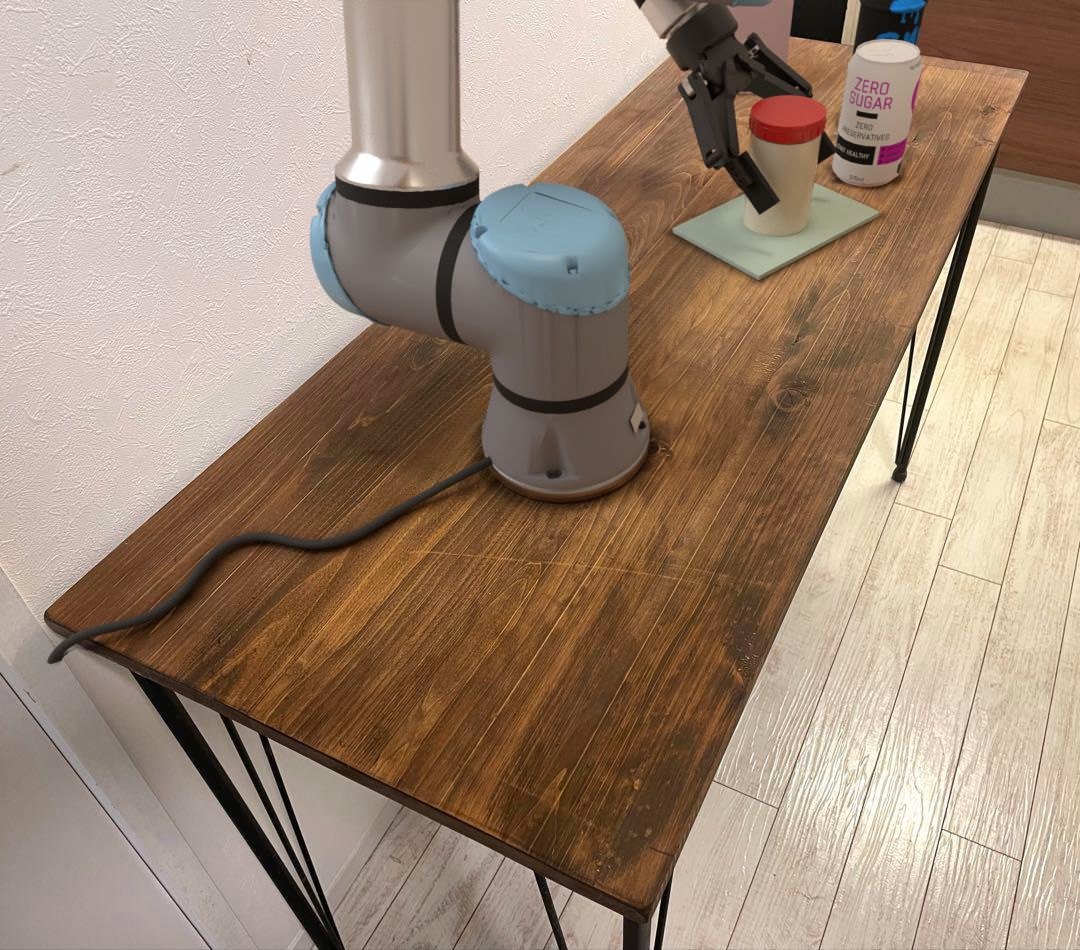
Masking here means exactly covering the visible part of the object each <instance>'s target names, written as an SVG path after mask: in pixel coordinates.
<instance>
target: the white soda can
mask: <svg viewBox="0 0 1080 950" xmlns="http://www.w3.org/2000/svg"><path fill="white" fill-rule="evenodd" d="M848 61H849V62H848V63H847V69H846V74H845V75H846V76H845V81H844V89H843V93H842V99H841V100H842V101H841V107H840V113H839V119H838V126H837V130H836V131H837V132H836V137H835V143H834V146H835V147H836V149H837V150H838V151H837V152H836V153H835V154H833V155H832V156H833V158H832V162H831V168H832V172H833V173H834V174H836V177H837V178H838V179H840V180H841V181H842V182H844V183H846V184H848V185H852V186H857V187H864V188H865V187H866V188H871V187H879V186H883V185H885V184H888V183H890V182H891V181H892V180H894V179H895V178H896V177H898V176H899V175H900V172H901V170H902V165H903V161H904V157H905V152H906V147H907V142H908V137H909V134H910V129H911V125H912V124H911V123H912V120H913V115H914V111H915V105H916V101H917V97H918V92H919V87H920V83H921V77H922V73H923V68H924V64H923V61H922V57H921V49H920V48H919V47H918V45H917V46H915V45H914V44H911V43H908V42H905V41H900V40H891V39H881V40H872V41H869V42H865V43H863V44H861V45H859V46H858V48H857V49H856V52H855V54H854V55H853V57H852V56H851V58H850V59H849V60H848Z"/></svg>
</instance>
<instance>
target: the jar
mask: <svg viewBox="0 0 1080 950" xmlns="http://www.w3.org/2000/svg"><path fill="white" fill-rule="evenodd" d="M821 135H822V134H821ZM821 135H820V136H819V137H817V138H815V139H812V140H810V141H806V142H802V143H795V144H780V143H773V142H769V141H765V140H762V139H760V138H758V137H756V136H755V135H753V134H752V133H751V132H750V135H749V145H748V146H749V147H748V154H749V155H750V157H751V158H752V160H753V161H754V163H755V164H756V165H757V167H758V168H759V170H760V171H761V173H762V174H763V176H764V177H765V179H766V180H767V182H768V183H769V185H770V186H771V188H772V189H773V191H774V192H775V194H776V195H777V197H778V198H779V200H780V202H778V203H777V204H776V205H774V206H773V207H771V208H770V209H768V210H767V211H765V212H764V213H762V214H760V215H759V214H758V212H757V211H756V210H755V208H754V207H753V205H752V204H751V202H750V201H749V199H748V198H747V196H746V195H745V200H744V211H743V222H744V224H745V226H746V227H747V228H749V229H750V230H752V231H754V232H756V233H759V234H762V235H767V236H788V235H792V234H796V233H798V232H800V231H802V230H803V229H805V228H806V226H807V225H808V223H809V217H810V210H811V203H812V196H813V190H814V183H816V182H815V181H816V176H817V175H816V174H817V169H818V165H817V162H818V156H819V149H820V142H821Z"/></svg>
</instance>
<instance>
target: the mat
mask: <svg viewBox="0 0 1080 950" xmlns="http://www.w3.org/2000/svg"><path fill="white" fill-rule="evenodd" d="M744 200H745V193H743V194H741V195H739V196H737V197H734V198H733V199H730V200H728V201H727V202H725V203H721V204H720V205H718V206H716V207H714V208H712V209H710V210H707V211H706V212H703V213H701V214H699V215H697V216H695V217H693V218H691V219H688V220H687V221H684V222H682V223H680V224H679V225H676V226H674V227H672V233H673V234H675V235H677V236H678V237H680V238H681V239H684V240H686V241H687V242H689V243H691V244H692V245H694V246H696V247H698V248H699V249H702V250H703V251H705V252H706V253H709V254H710V255H712V256H714V257H715V258H718V259H720V260H721V261H723V262H724V263H727V264H729V265H730V266H732V267H734V268H735V269H738V270H739V271H741V272H743V273H745V274H746V275H748V276H750V277H752V278H754V279H755V280H757V281H760V280H762V279H764V278H766V277H768V276H770V275H771V274H774V273H776V272H777V271H779V270H782V269H783V268H785V267H787V266H789V265H791V264H793V263H794V262H796V261H798V260H800V259H802V258H803V257H806V256H807V255H810V254H811V253H814V252H816V251H817V250H818V249H821V248H822V247H824V246H826V245H829V244H830V243H832V242H835V241H836V240H837V239H839V238H841V237H843V236H845V235H846V234H849V233H851V232H853V231H854V230H856V229H858V228H860V227H862V226H864V225H866V224H867V223H869V222H871V221H873V220H875V219H877V218H879V217H880V215H881V211H879V210H877V209H875V208H872V207H870V206H869V205H866V204H864V203H861V202H859V201H857V200H855V199H853V198H850V197H848V196H846V195H844V194H842V193H839V192H837V191H834V190H833V189H830V188H828V187H826V186H823V185H821V184H819V183H817V182H815V183H814V190H813V196H812V203H811V210H810V217H809V223H808V225H807V226H806V228H805V229H803V230H802V231H800V232H798V233H796V234H792V235H788V236H767V235H762V234H759V233H756V232H754V231H752V230H750V229H749V228H747V227H746V226H745V224H744V222H743V211H744Z"/></svg>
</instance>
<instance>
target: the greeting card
mask: <svg viewBox="0 0 1080 950" xmlns="http://www.w3.org/2000/svg"><path fill="white" fill-rule="evenodd" d="M794 3H795V0H773V1H772V2H771V3H769V4H768V5H766V6H762V7H758V6H736V7H735V8H734V7H730V6H728V5H727V7H728V8H729V10H730V11H731V13H732V14H733V16H734V18H735V19H736V21H737V22H738V29H737V31H736V32H735V37H736V39H737V40H738V41H739V42H740V43H741V42H742V41H743V40H744V39H745V38H747V37H748V36H749V35H750V34H751V33H752V32H755V33H756V34H757V35H758V36H759V37H760V39H761V40H762V41H763V43H764V44H765V45H766V47H767V48H769V49H770V50H771V51H772V52H773V53H774V54H776V55H777V56H778V57H779V58H780V59H782V60H783V61H784V62H785V63H786V64H787V65H788V56H789V55H788V54H789V46H790V38H791V30H792V29H791V28H792V19H793V11H794ZM756 56H757V55H756ZM751 73H752V72H751ZM738 95H754V94H753V93H752V92H742V91H741V92H740V93H739V94H738Z"/></svg>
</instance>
